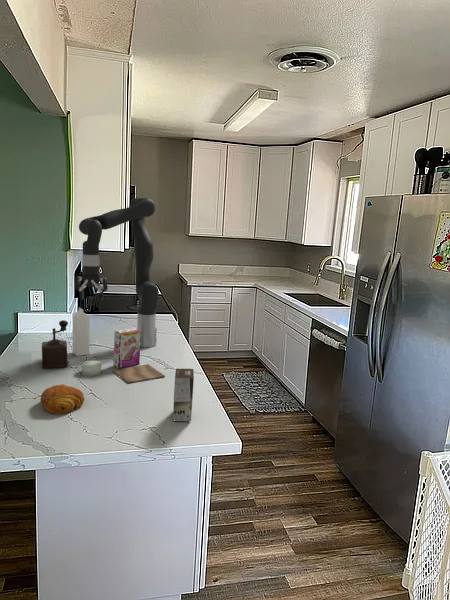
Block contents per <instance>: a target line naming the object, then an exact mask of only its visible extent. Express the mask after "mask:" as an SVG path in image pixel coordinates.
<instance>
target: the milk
mask: <svg viewBox="0 0 450 600" xmlns="http://www.w3.org/2000/svg"><path fill="white" fill-rule="evenodd" d="M72 353H73V354H74V355H75V356H76V357H79V356H86V355H90V315H88V314H87V313H85V312H84V309H83V308H81V307H78V310H76V311H75V312H74V313H73V314H72Z"/></svg>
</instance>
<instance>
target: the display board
mask: <svg viewBox="0 0 450 600" xmlns="http://www.w3.org/2000/svg"><path fill="white" fill-rule="evenodd" d="M112 372H113V373H114V374H116V375H117V376H118V377H119V376H120V377H119V378H120V379H122V380H123V381H124V382H125V383H127V384H129V385H130V384H134V383H140V382H145V380H146V381H151V379H152V380H156V379H162V378H165V377H166V375H165V374H163V373H162V372H160V371H159V370H158V369H156V368H155V367H153V366H152V365H150V364H142V365H133V366H128V367H123V368H117V369H112Z"/></svg>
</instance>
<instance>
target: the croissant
mask: <svg viewBox="0 0 450 600" xmlns="http://www.w3.org/2000/svg"><path fill="white" fill-rule="evenodd" d="M85 400H86V399H85V395H84V393H83V391H82V390H80V389H79V388H76V387H74V386H69V385H65V383H64V384H63V383H62V384H56V385H51V386H49V387H47V388H45V389H44V391H43V392H42V393H41V395H40V403H41V404H42V406H43V408H44V409H45V410H46V411H47V412H48V413H51V414H56V415H62V414H66V413H70V412H72V411H73V409H75V410H78V409H77V408H79V409H80V408H81V407H82V405H83V404H84V402H85Z"/></svg>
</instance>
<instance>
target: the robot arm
mask: <svg viewBox="0 0 450 600" xmlns="http://www.w3.org/2000/svg"><path fill="white" fill-rule="evenodd" d="M155 211H156V205H155V202H154V200H152V199H151V198H148V197H134V198H133V199H132V200H131V202H130V205H129V206H128V207H124V208H120V209H115V210H111V211H108V212H105V213H102V214H100V215H96V216H90V217H86V218H84V219H82V220H81V221H80V222H79V224H78V229H79V231H80V233H81V234H83V235H85V236H87V239H86V240H85V241H83V242H82V257H81V265H82V266H81V267H82V268H81V269H82V271H81V272H82V273H81V274H82V276H79V275H78V276H75V281H74V290H77V291H79V299H80V300H84V299H85V289H86V287H87V288H90V287H91V288H96V289H97V290H98V294H99V295H98V301H103V299H104V293H105V292H106V291H108V289H109V288H108V279H107V277H101V271H100V270H101V268H100V267H101V265H100V264H101V263H100V262H101V260H100V242H101V240H102V239H101V238H102V234H103V231H104V230H106V231H107V230H109V229H112V228H115V227H117V226H120V225H123V224H126V223H128V222H130V221H131V222H132V229H133V230H132V231H133V242H134V244H133V245H134V256H135V257H134V259H135V271H136V273H135V274H136V276H135V293H136V296H137V297H138V298H139V299H141V305H140V306H138V308H137V325H136V328H137V329H139V330H141V342H140V348H146V349H147V348H153V347H155V346H157V327H156V314H157V313H156V312H157V309H158V307H159V292H160V291H159V288H158V286H157V285H156V284H154V283H152V282H151V278H150V277H151V276H150V269H151V266H152V263H153V260H154V243H153V239H152V238H151V236H150V234H149V231H148V230H147V227H146V219H145V218H148V217H152V216H153V215H154V213H155ZM81 282H83V284H81ZM101 283H102V285H101ZM80 284H81V286H80Z"/></svg>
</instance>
